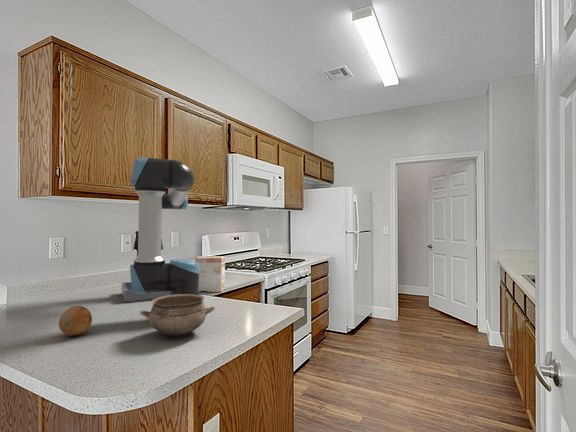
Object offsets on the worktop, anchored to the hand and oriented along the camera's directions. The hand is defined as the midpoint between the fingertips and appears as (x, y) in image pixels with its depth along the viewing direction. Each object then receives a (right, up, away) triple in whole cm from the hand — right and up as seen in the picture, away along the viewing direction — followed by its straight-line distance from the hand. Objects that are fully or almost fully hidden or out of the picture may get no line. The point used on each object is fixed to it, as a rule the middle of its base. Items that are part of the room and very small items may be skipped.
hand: (148, 263), depth 179 cm
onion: (+1, -16, -62) cm, 65 cm away
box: (0, -17, 0) cm, 17 cm away
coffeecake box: (+30, -18, +14) cm, 37 cm away
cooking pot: (+36, -17, -61) cm, 72 cm away
